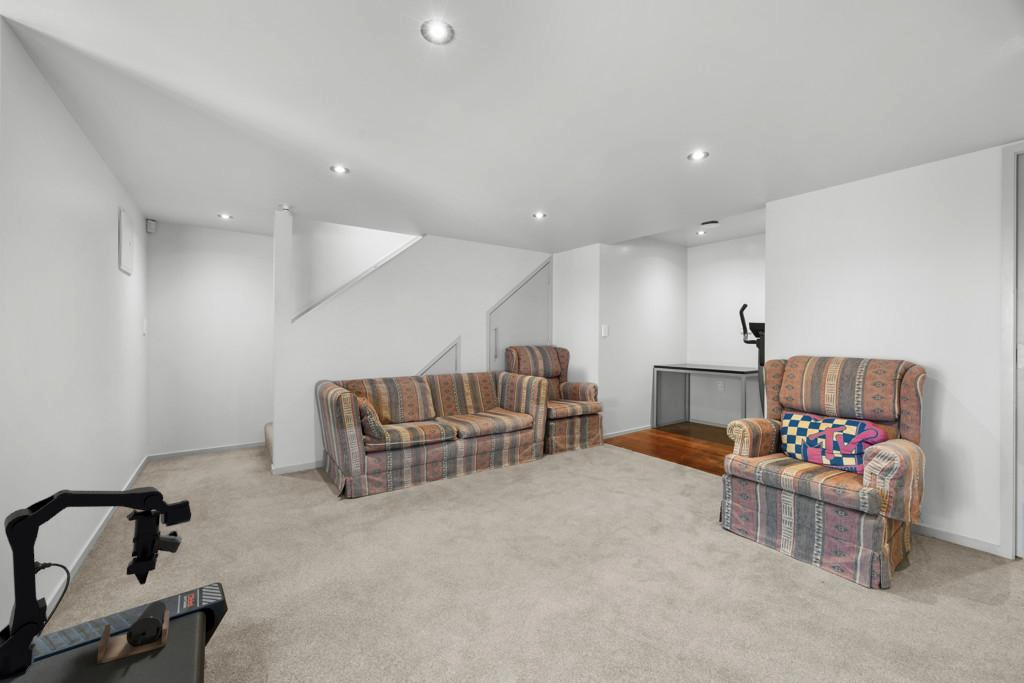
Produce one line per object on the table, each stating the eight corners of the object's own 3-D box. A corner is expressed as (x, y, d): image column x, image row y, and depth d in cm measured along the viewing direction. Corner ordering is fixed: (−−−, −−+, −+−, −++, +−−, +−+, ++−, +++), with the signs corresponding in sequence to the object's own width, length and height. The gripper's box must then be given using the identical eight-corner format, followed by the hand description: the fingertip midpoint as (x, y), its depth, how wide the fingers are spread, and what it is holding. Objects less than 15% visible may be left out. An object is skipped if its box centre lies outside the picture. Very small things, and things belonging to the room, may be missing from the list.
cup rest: (96, 664, 112) (98, 645, 112) (104, 642, 120) (105, 625, 120) (165, 645, 120) (167, 628, 120) (168, 626, 128) (169, 609, 128)
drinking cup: (175, 613, 133) (161, 648, 115) (145, 628, 129) (125, 667, 112) (166, 591, 132) (150, 622, 115) (135, 605, 128) (114, 640, 111)
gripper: (178, 537, 126) (175, 591, 125) (182, 515, 141) (178, 563, 141) (128, 545, 119) (124, 602, 119) (137, 522, 135) (133, 572, 134)
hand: (143, 583), depth 128 cm, fingers closed
